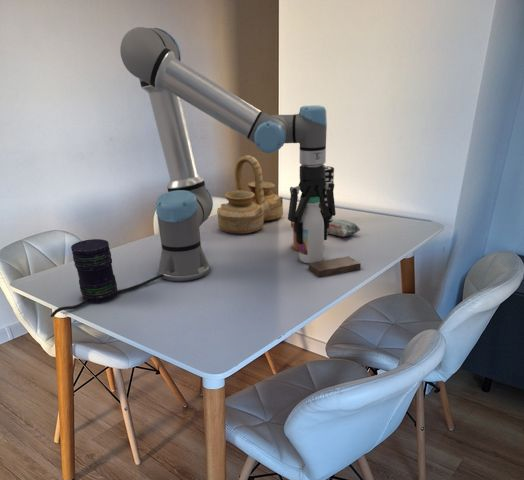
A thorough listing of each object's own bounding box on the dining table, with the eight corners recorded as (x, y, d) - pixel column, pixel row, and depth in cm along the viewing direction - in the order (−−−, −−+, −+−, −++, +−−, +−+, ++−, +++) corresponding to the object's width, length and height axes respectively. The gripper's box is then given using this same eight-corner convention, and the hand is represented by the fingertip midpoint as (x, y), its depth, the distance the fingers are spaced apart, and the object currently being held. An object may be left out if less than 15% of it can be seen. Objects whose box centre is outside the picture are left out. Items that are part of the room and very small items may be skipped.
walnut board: (319, 277, 150) (319, 271, 149) (308, 269, 156) (308, 263, 155) (360, 269, 155) (360, 263, 154) (348, 262, 160) (348, 256, 159)
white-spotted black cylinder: (307, 220, 201) (308, 167, 191) (326, 217, 203) (328, 165, 193) (315, 226, 195) (316, 171, 184) (335, 223, 197) (337, 169, 187)
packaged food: (344, 241, 178) (345, 227, 175) (319, 234, 185) (320, 220, 183) (360, 235, 183) (361, 222, 180) (335, 229, 190) (336, 216, 188)
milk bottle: (323, 255, 166) (325, 192, 156) (323, 264, 159) (325, 199, 149) (299, 255, 167) (299, 193, 156) (298, 264, 160) (298, 199, 150)
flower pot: (299, 254, 168) (299, 227, 163) (285, 244, 177) (285, 218, 172) (329, 249, 171) (330, 222, 167) (314, 239, 180) (314, 214, 176)
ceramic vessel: (253, 238, 184) (250, 166, 171) (209, 233, 191) (203, 163, 179) (291, 214, 210) (290, 149, 197) (251, 210, 217) (248, 147, 205)
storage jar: (125, 295, 143) (115, 244, 136) (93, 307, 137) (81, 253, 130) (107, 286, 150) (97, 236, 142) (76, 296, 144) (64, 245, 136)
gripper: (285, 170, 142) (286, 249, 154) (350, 163, 148) (346, 239, 160) (274, 166, 148) (276, 242, 160) (337, 159, 154) (334, 233, 166)
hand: (311, 240), depth 160 cm, fingers closed on milk bottle, 8 cm apart
